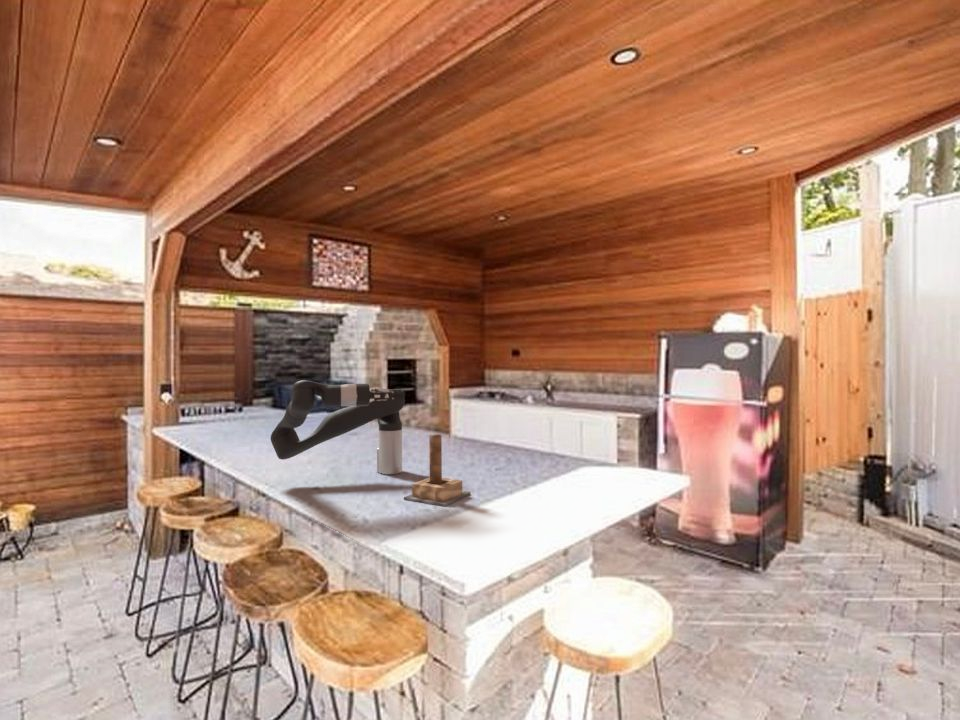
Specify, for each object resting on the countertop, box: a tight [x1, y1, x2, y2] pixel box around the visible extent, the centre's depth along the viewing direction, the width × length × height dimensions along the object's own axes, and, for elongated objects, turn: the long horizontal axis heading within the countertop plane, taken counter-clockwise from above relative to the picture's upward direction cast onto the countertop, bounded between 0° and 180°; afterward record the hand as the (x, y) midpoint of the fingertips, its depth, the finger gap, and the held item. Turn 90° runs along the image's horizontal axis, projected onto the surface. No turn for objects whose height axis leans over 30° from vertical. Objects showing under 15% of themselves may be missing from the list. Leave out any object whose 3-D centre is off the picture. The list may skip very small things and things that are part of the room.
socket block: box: [403, 477, 471, 507], centre depth 180 cm, size 16×16×5 cm
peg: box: [428, 433, 443, 485], centre depth 180 cm, size 4×4×20 cm
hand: (403, 393), depth 186 cm, fingers open, 8 cm apart
